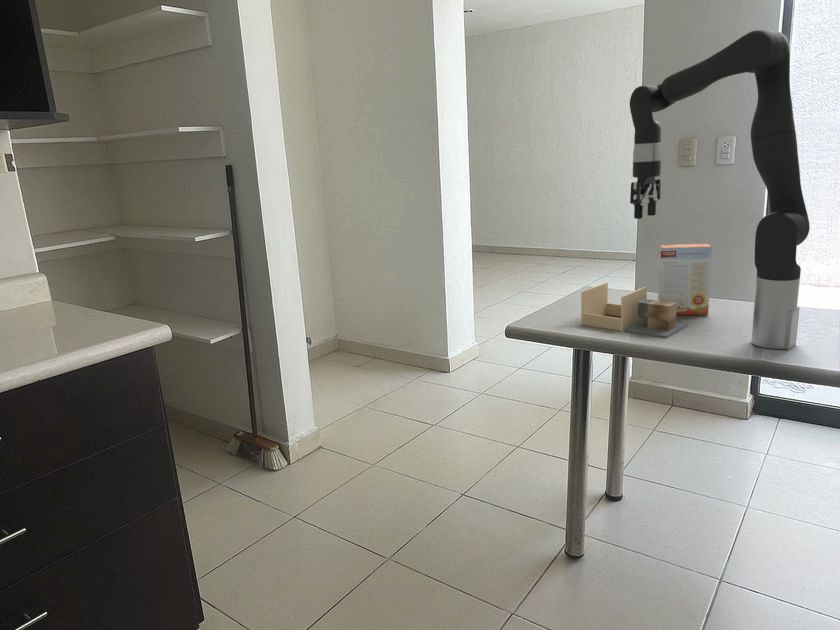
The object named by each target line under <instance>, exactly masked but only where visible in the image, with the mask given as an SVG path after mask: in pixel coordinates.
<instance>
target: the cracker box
mask: <svg viewBox="0 0 840 630" xmlns="http://www.w3.org/2000/svg"><path fill="white" fill-rule="evenodd" d="M711 264H712V246H711V245H710V244H708V243H689V244H687V243H686V244H685V243H683V244H682V243H680V244H660V245H659V246H658V277H657V278H658V279H657V280H658V281H657V282H658V283H657V301H665V302H674V303H677V307H676V316H677V315H678V316H679V315H681V316H683V315H690V316H691V315H692V316H693V315H694V316H696V315H697V316H700V315H701V316H703V315H704V316H707V315H709V308H710V307H709V306H710V304H709V302H710V286H711V285H710V284H711V283H710V282H711V269H712V268H711V267H712V265H711Z"/></svg>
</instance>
